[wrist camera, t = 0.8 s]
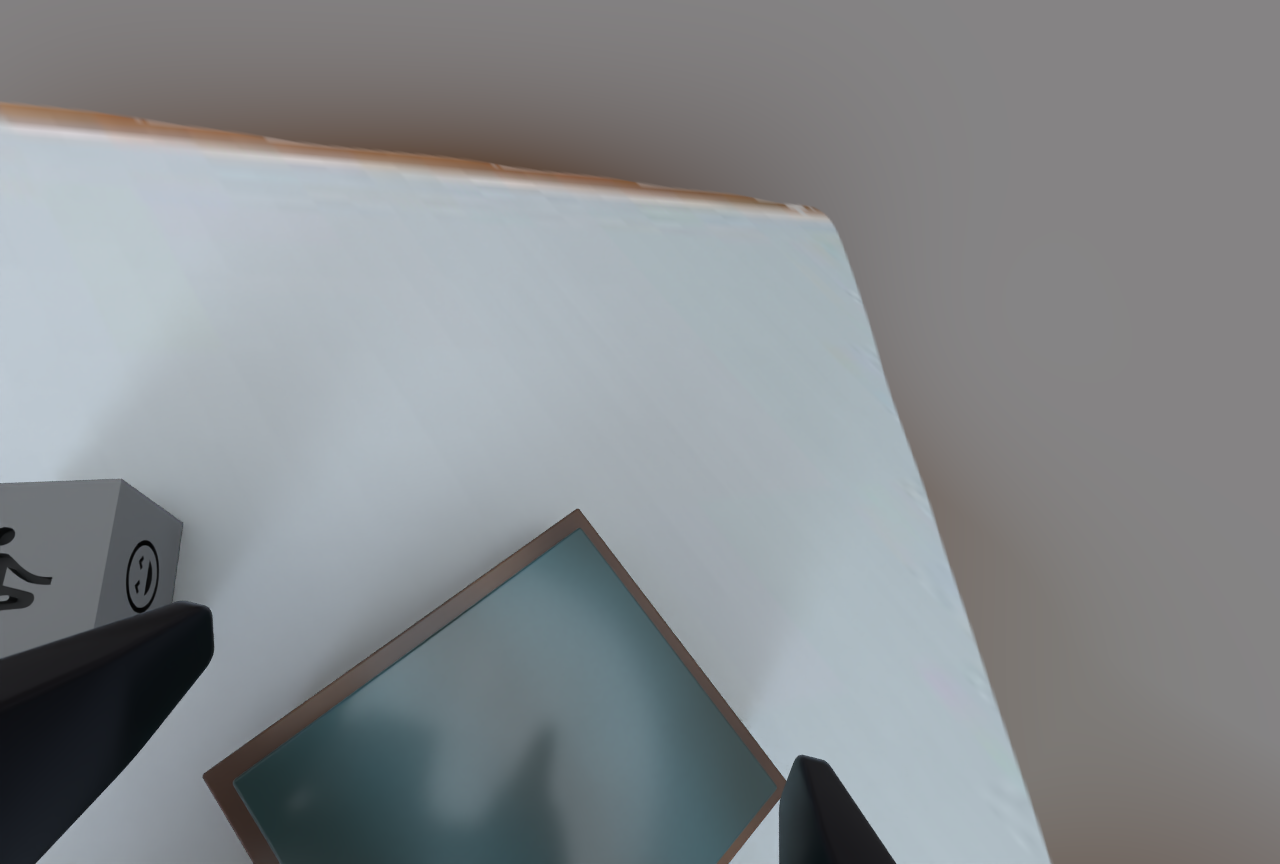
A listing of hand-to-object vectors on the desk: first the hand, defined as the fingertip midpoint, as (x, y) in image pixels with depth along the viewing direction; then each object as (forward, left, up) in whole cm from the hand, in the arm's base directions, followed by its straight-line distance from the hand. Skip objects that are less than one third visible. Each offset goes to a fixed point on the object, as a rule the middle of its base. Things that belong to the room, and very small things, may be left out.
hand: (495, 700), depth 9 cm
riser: (0, -3, -16) cm, 16 cm away
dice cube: (-8, +11, -16) cm, 21 cm away
